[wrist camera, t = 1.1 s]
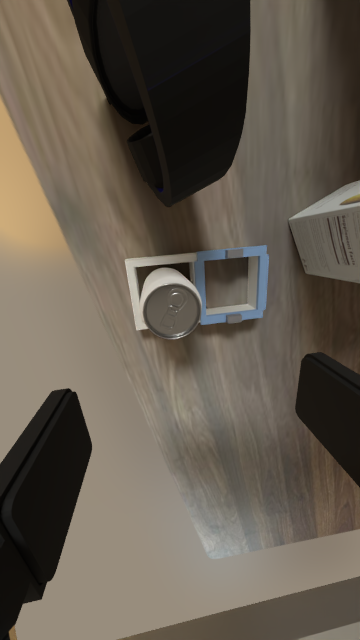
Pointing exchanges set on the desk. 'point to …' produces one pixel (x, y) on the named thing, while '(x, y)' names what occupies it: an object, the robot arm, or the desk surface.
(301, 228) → the supplement box
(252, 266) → the block
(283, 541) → the desk surface
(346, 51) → the desk surface
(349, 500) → the desk surface
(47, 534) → the robot arm
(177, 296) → the can
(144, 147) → the headphones
